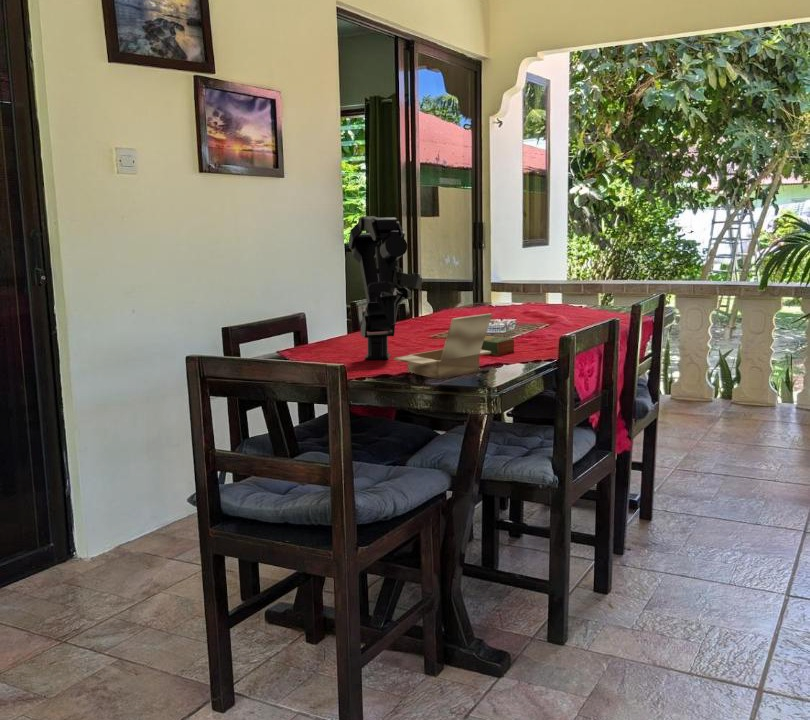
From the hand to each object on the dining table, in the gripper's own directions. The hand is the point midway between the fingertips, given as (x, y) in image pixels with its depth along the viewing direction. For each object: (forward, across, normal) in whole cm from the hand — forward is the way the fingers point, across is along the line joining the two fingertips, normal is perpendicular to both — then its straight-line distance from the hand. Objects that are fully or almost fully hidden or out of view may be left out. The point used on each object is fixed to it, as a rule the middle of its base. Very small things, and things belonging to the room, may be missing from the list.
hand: (392, 324), depth 219 cm
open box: (+14, +2, -12) cm, 18 cm away
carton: (+7, +35, -16) cm, 39 cm away
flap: (+6, -4, -20) cm, 21 cm away
